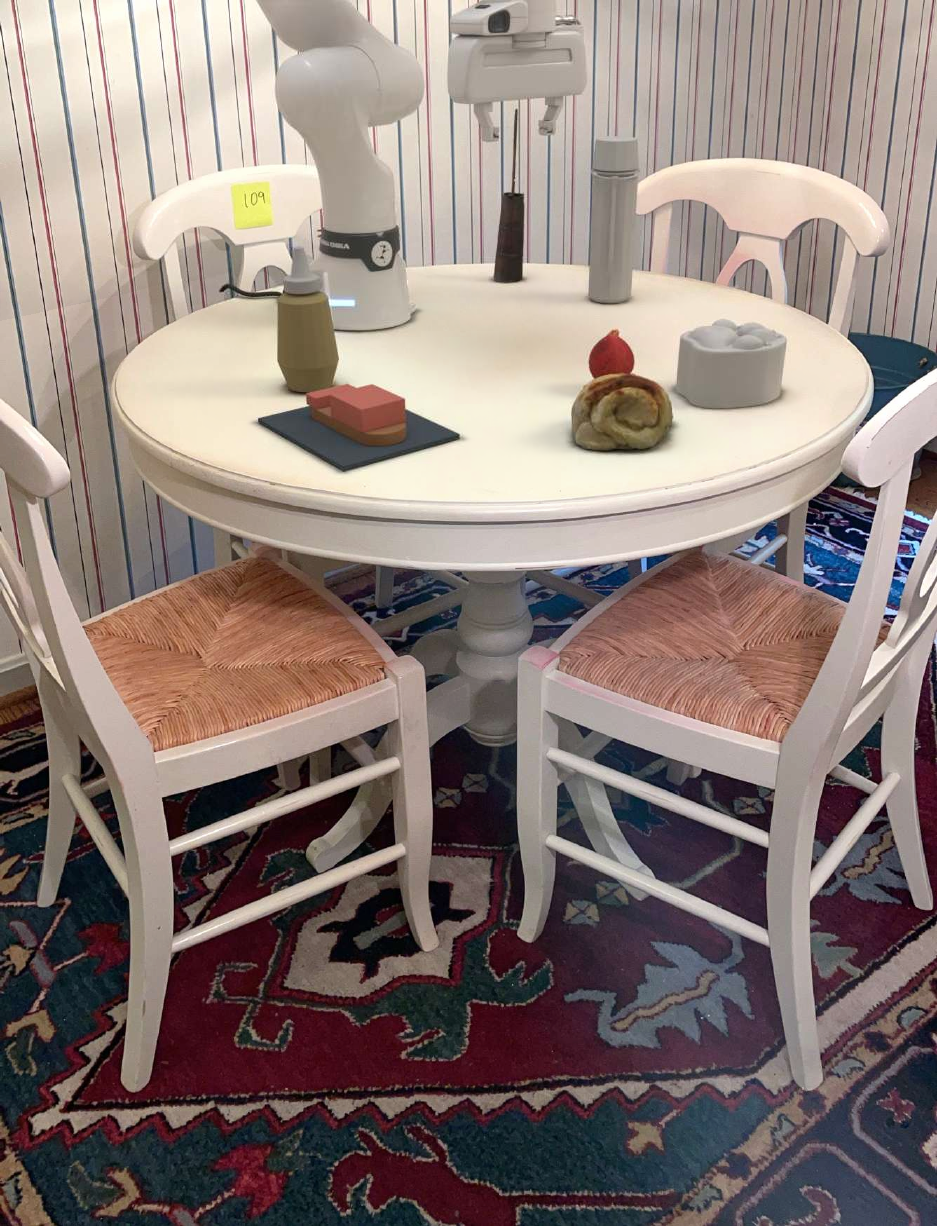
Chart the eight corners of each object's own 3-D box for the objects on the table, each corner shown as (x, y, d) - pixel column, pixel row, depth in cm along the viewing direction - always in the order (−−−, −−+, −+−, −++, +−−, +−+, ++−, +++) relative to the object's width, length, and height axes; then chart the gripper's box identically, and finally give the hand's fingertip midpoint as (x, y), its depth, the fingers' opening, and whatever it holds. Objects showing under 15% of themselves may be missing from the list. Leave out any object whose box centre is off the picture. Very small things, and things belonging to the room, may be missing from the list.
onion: (603, 399, 142) (606, 337, 138) (579, 387, 147) (581, 326, 143) (640, 392, 144) (644, 331, 141) (615, 380, 149) (619, 320, 145)
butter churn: (519, 289, 194) (521, 113, 180) (472, 283, 198) (470, 111, 184) (543, 278, 200) (547, 108, 187) (497, 272, 205) (497, 106, 191)
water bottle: (586, 293, 190) (593, 135, 178) (633, 294, 189) (642, 135, 177) (584, 307, 182) (590, 143, 170) (632, 308, 181) (642, 143, 169)
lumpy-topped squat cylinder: (668, 385, 147) (673, 319, 143) (759, 377, 149) (767, 312, 145) (699, 410, 138) (706, 341, 134) (796, 402, 140) (805, 334, 136)
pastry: (597, 461, 124) (601, 392, 120) (546, 426, 134) (548, 361, 130) (704, 442, 129) (710, 374, 125) (647, 409, 139) (651, 346, 135)
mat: (258, 422, 136) (257, 418, 136) (368, 395, 145) (367, 391, 144) (343, 471, 122) (343, 466, 122) (459, 438, 131) (459, 433, 130)
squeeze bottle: (350, 380, 150) (341, 243, 141) (324, 399, 144) (313, 256, 135) (296, 375, 153) (284, 239, 144) (268, 393, 146) (254, 252, 137)
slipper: (302, 413, 137) (299, 379, 135) (344, 403, 140) (341, 370, 138) (373, 450, 126) (371, 414, 124) (416, 438, 129) (415, 402, 127)
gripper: (566, 13, 144) (563, 129, 151) (438, 18, 133) (441, 142, 140) (600, 14, 140) (595, 133, 146) (470, 18, 129) (471, 147, 136)
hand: (519, 138), depth 143 cm, fingers open, 8 cm apart
